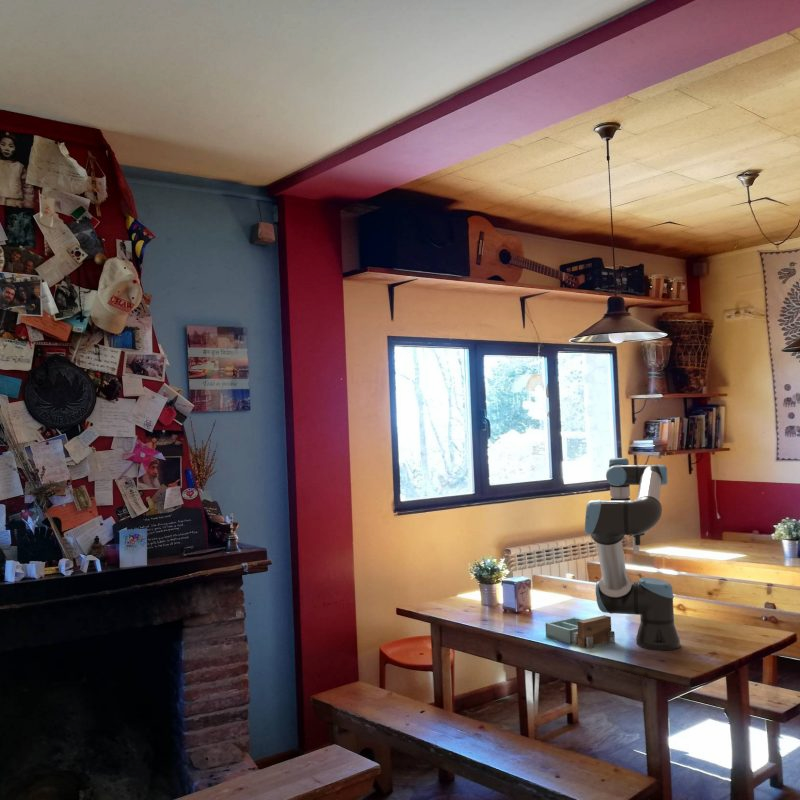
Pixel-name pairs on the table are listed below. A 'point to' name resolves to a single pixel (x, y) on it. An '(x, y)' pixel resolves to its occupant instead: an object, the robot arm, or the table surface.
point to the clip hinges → (590, 639)
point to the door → (594, 630)
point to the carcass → (562, 629)
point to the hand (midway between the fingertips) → (622, 551)
